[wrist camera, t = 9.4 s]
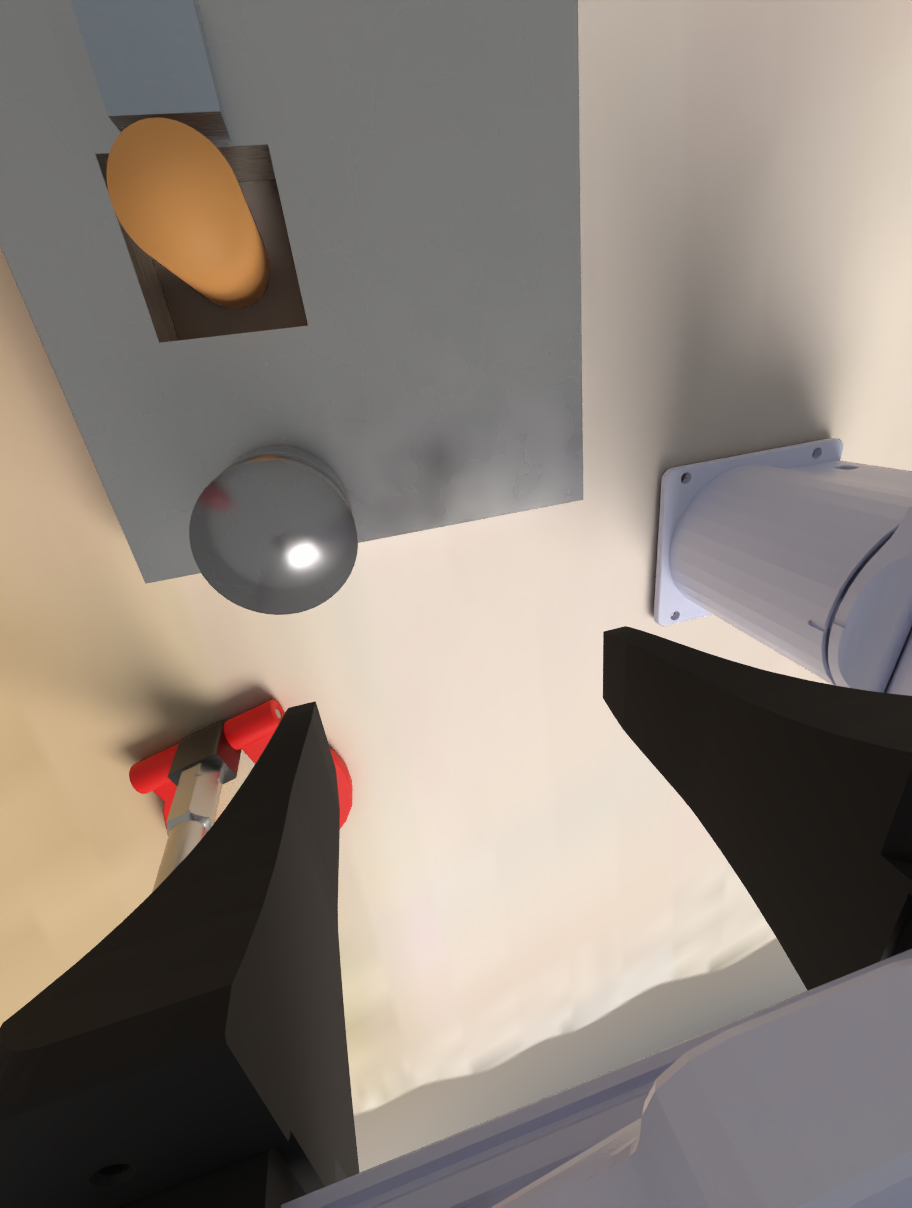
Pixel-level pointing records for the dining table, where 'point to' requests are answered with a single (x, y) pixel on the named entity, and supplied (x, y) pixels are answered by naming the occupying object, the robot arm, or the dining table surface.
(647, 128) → the dining table surface
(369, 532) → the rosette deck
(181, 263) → the orange rounded capsule
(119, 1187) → the robot arm
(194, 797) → the tow hook
